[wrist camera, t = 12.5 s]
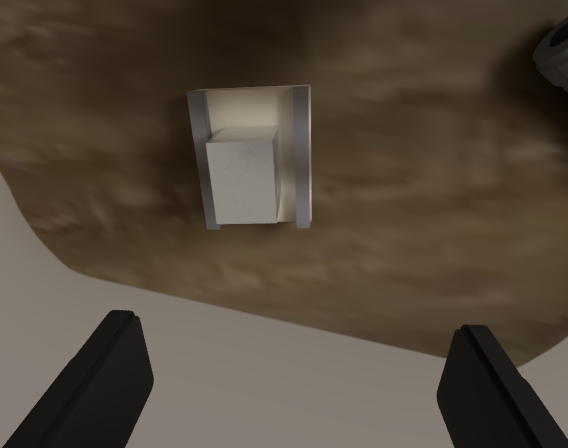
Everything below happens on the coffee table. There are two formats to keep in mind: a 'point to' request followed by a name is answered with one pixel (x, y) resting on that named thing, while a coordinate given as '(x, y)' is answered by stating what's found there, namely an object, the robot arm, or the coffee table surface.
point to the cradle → (254, 112)
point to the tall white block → (245, 174)
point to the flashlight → (554, 55)
